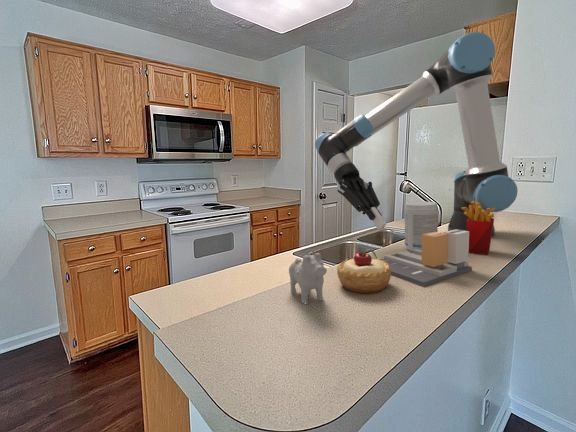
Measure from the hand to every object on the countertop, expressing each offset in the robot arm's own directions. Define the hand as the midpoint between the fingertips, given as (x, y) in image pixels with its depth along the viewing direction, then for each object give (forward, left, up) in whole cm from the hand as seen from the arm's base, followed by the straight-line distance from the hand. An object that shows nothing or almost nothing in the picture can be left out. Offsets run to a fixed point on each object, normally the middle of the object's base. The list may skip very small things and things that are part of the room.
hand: (382, 227), depth 93 cm
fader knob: (0, +17, -8) cm, 19 cm away
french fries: (-25, +12, -9) cm, 29 cm away
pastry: (+19, +13, -10) cm, 25 cm away
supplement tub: (-16, 0, -9) cm, 19 cm away
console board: (0, +12, -9) cm, 15 cm away
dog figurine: (+33, +11, -9) cm, 36 cm away
